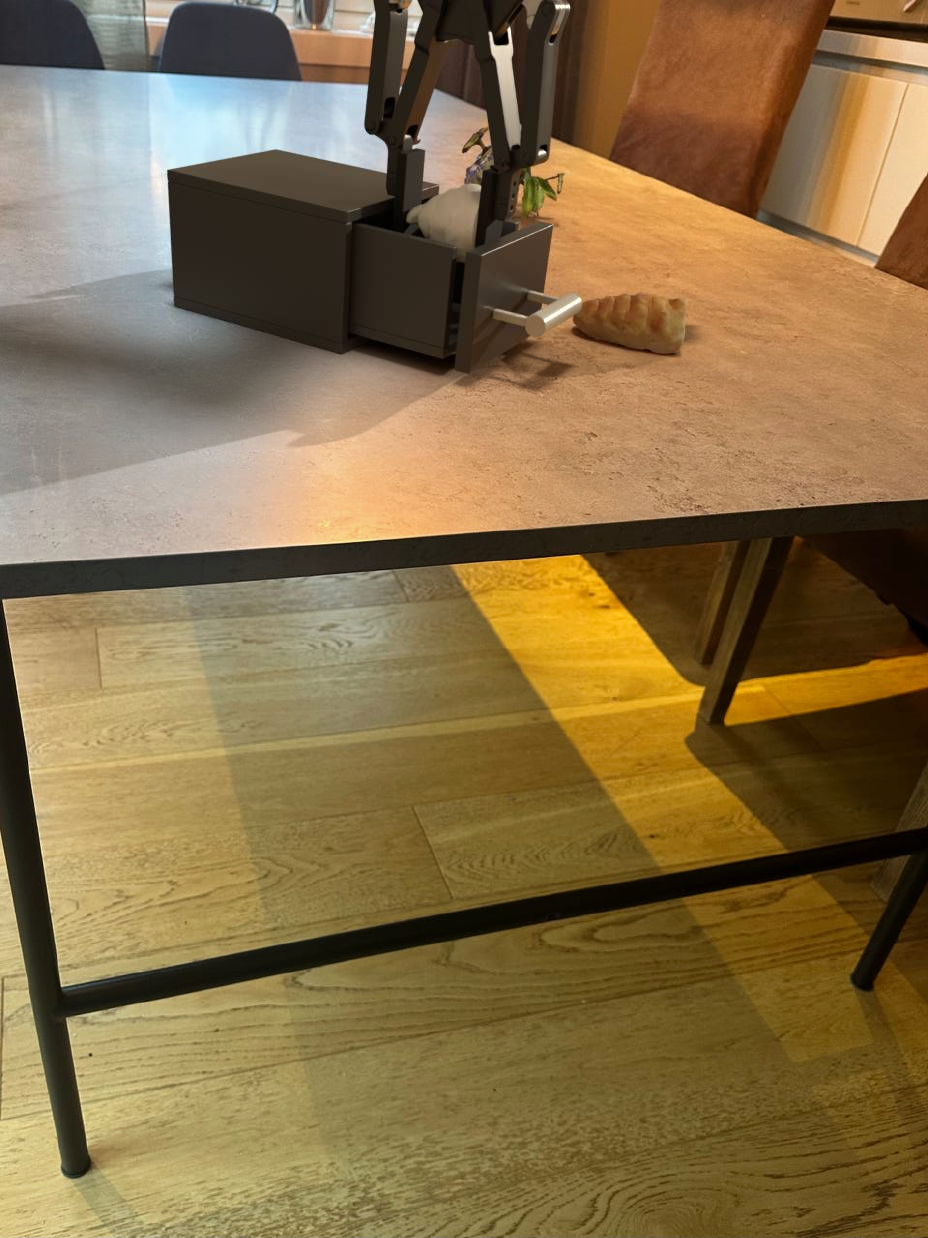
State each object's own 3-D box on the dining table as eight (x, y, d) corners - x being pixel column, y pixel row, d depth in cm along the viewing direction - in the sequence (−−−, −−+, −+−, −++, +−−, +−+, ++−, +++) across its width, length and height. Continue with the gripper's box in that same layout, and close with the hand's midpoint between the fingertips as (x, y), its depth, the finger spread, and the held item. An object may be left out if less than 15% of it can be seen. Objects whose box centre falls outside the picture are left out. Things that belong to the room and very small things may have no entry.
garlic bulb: (425, 242, 81) (431, 166, 78) (495, 258, 79) (504, 182, 76) (390, 255, 76) (395, 176, 73) (464, 273, 74) (472, 193, 71)
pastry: (569, 341, 85) (576, 294, 83) (572, 317, 91) (579, 272, 89) (684, 358, 84) (694, 311, 82) (680, 332, 90) (690, 288, 88)
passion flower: (467, 256, 124) (451, 155, 124) (557, 244, 125) (542, 144, 125) (475, 219, 113) (458, 109, 112) (574, 206, 113) (557, 97, 113)
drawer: (587, 344, 82) (605, 235, 78) (522, 389, 73) (539, 268, 68) (382, 290, 88) (388, 186, 84) (297, 326, 79) (299, 211, 74)
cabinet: (429, 311, 88) (439, 184, 82) (341, 354, 77) (346, 211, 72) (275, 271, 93) (275, 148, 87) (173, 305, 83) (166, 169, 77)
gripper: (316, -150, 65) (307, 235, 78) (601, -119, 59) (541, 294, 71) (379, -138, 71) (361, 219, 83) (644, -108, 64) (581, 272, 77)
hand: (444, 253), depth 77 cm, fingers closed on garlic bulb, 6 cm apart
